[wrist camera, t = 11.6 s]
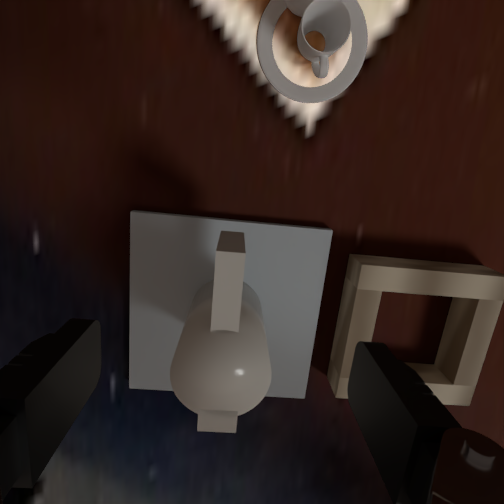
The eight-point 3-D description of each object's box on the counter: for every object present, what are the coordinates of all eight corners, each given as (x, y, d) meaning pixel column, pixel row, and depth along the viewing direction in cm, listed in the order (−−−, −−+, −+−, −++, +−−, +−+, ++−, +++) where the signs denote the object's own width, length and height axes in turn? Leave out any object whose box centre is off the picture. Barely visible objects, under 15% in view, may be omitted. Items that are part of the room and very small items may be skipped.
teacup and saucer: (280, -51, 23) (288, -93, 19) (386, -9, 24) (415, -41, 20) (243, 84, 25) (244, 71, 21) (341, 118, 26) (360, 111, 22)
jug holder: (484, 265, 30) (510, 277, 27) (448, 383, 33) (469, 405, 30) (349, 253, 29) (361, 264, 26) (326, 375, 32) (335, 397, 29)
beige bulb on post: (256, 355, 30) (264, 434, 21) (188, 351, 30) (167, 429, 21) (270, 226, 27) (286, 256, 18) (195, 219, 27) (174, 247, 18)
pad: (330, 228, 28) (332, 230, 27) (302, 392, 32) (304, 398, 32) (133, 210, 27) (130, 211, 26) (131, 382, 31) (129, 388, 30)
